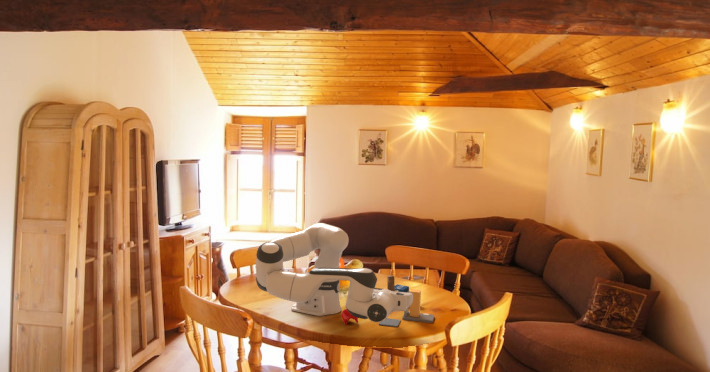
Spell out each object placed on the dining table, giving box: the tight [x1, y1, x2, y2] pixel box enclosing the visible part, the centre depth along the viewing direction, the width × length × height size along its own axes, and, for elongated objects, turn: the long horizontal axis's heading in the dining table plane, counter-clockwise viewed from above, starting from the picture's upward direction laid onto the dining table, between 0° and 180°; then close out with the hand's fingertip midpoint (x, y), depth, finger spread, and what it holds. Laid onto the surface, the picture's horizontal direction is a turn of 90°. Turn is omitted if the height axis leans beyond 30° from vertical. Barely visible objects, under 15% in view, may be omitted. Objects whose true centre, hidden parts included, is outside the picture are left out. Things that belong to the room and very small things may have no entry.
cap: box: [340, 308, 359, 326], centre depth 212 cm, size 8×6×6 cm
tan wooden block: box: [409, 288, 422, 317], centre depth 221 cm, size 4×4×11 cm
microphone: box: [374, 284, 411, 293], centre depth 243 cm, size 8×8×25 cm
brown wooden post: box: [386, 275, 396, 291], centre depth 213 cm, size 3×3×14 cm
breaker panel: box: [401, 306, 435, 324], centre depth 221 cm, size 13×8×4 cm, turn 76°
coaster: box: [378, 317, 402, 328], centre depth 214 cm, size 8×8×1 cm
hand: (391, 291), depth 213 cm, fingers closed on brown wooden post, 3 cm apart
